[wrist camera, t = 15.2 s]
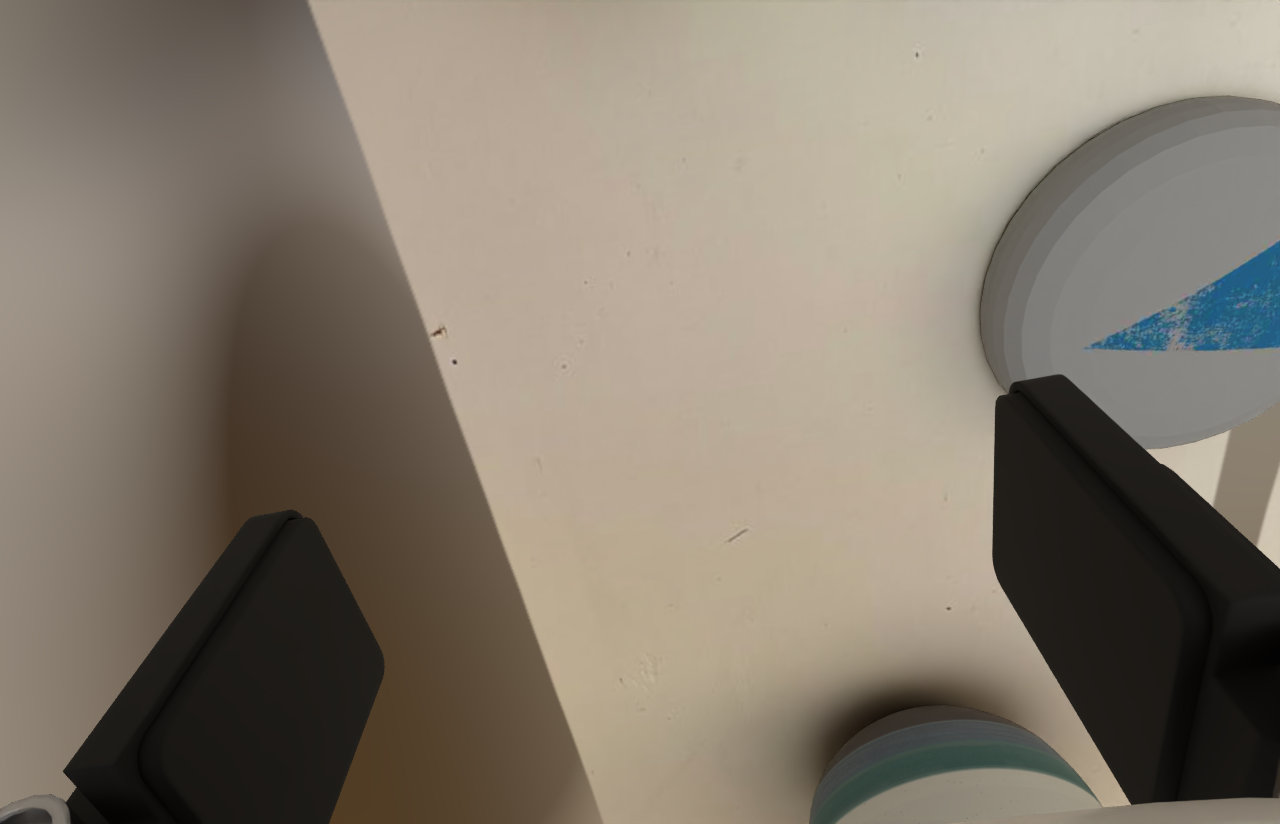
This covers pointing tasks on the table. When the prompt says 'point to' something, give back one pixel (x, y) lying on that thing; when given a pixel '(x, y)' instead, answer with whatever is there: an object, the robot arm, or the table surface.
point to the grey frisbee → (1151, 272)
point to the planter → (945, 772)
